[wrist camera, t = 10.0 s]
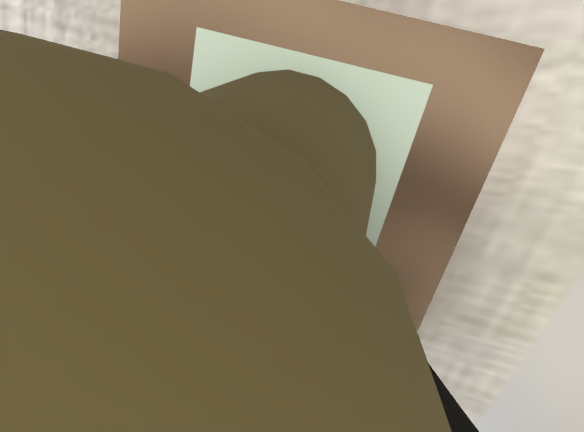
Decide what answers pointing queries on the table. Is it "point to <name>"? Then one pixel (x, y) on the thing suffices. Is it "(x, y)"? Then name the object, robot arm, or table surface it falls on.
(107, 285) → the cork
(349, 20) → the well board
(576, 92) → the table surface
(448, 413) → the robot arm
